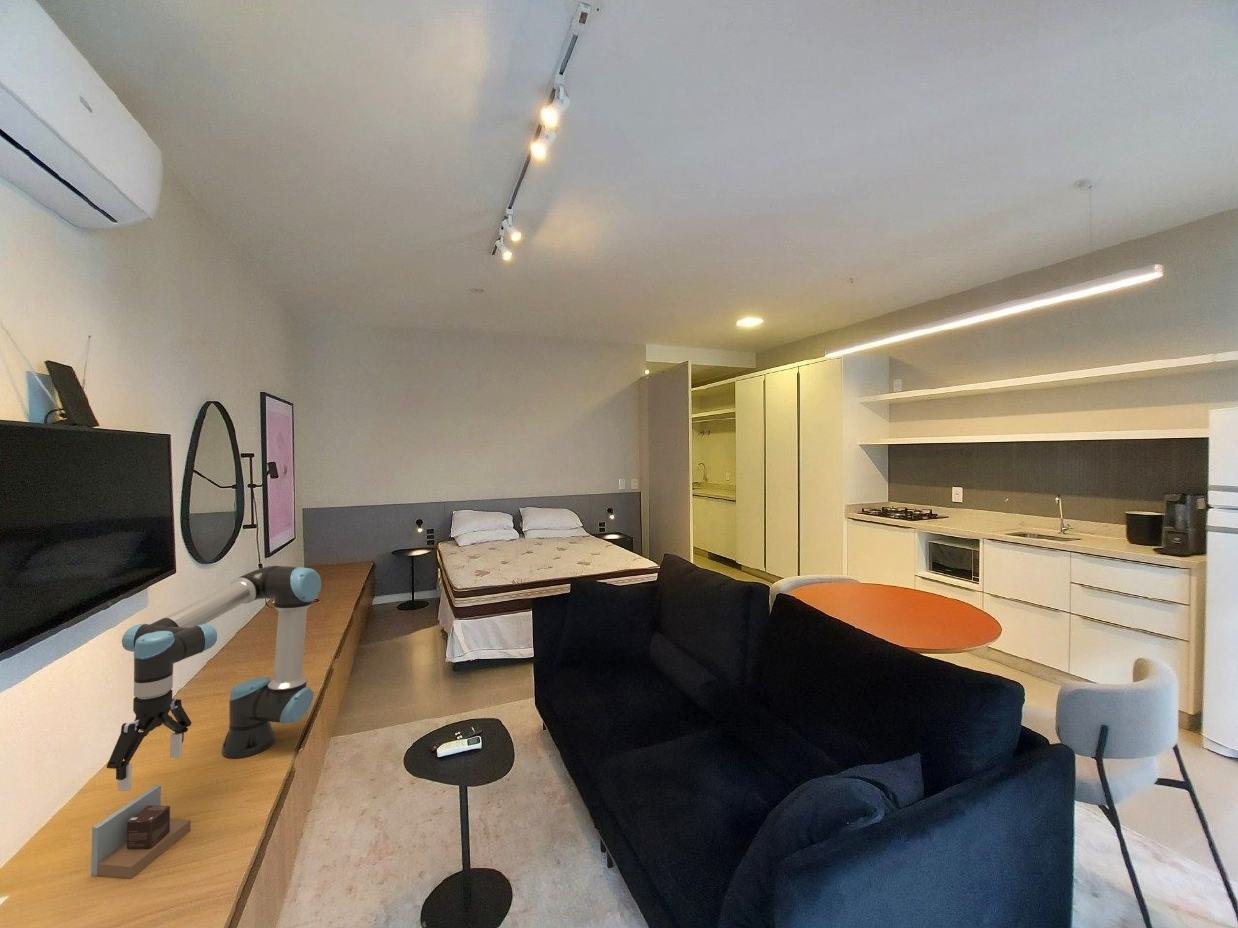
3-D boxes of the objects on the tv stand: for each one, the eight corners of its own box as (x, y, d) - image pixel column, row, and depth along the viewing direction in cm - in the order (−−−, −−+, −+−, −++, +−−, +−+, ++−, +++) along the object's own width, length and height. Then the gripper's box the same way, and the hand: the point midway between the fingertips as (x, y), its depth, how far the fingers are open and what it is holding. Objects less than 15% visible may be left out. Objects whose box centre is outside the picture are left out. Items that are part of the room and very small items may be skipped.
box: (170, 832, 134) (171, 805, 134) (150, 850, 128) (150, 821, 128) (147, 832, 134) (148, 804, 133) (125, 849, 128) (126, 821, 127)
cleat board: (154, 827, 139) (156, 785, 139) (190, 830, 138) (191, 788, 138) (91, 875, 123) (92, 827, 123) (131, 879, 122) (132, 830, 122)
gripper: (183, 671, 143) (181, 744, 144) (86, 716, 118) (85, 804, 119) (208, 673, 143) (206, 746, 143) (116, 718, 118) (114, 807, 118)
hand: (151, 772), depth 131 cm, fingers open, 13 cm apart
